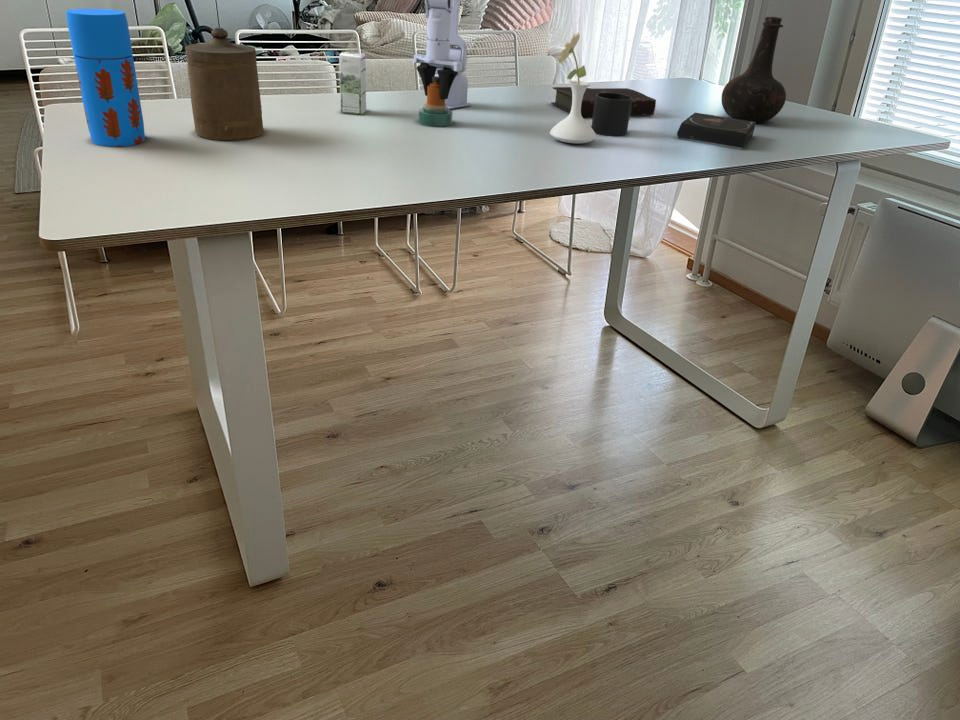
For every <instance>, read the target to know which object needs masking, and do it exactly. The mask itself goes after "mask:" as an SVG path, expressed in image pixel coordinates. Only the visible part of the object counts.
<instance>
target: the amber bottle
mask: <svg viewBox="0 0 960 720" xmlns="http://www.w3.org/2000/svg"><path fill="white" fill-rule="evenodd" d="M432 81H433V83H430V85H428V86H427V96H426V102H427V104H429V105H436V106H440V105H445V99H444V100H442V99H440V82H439V77H438V76H434V77H432Z"/></svg>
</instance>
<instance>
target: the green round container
mask: <svg viewBox="0 0 960 720" xmlns="http://www.w3.org/2000/svg"><path fill="white" fill-rule="evenodd" d="M453 113H454V112H453V111H452V109H449V108H448V107H446V103H445V105H440V106H436V105H429V104H427V101H426V102H425V105H423V106H422V107H421V108H419V110H418V123H419V124H420V125H422V126H427V127H434V128H443V127H445V128H446V127H449V126H452V125H453Z"/></svg>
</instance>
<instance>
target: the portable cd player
mask: <svg viewBox="0 0 960 720" xmlns="http://www.w3.org/2000/svg"><path fill="white" fill-rule="evenodd" d="M756 124H757V123H756V122H753V121H746V120H740V119H734V118H731V117H727V116H722V115H721V116H720V115H714V114H707V113H699V112H693V113H692V114H691V115H690V116H689V117H687V118H686V119H685V120H684V121H682V122H681V123H680V126H679V128H678V130H677V132H676V135H677V139H678V140H684V141H690V142H695V143H701V144H708V145H713V146H720V147H726V148H731V149H737V150H744V149H745V147H746V146H747V145H748V143H749V142H750V141H751V139H752V138H753V135H754V133H755V127H756Z"/></svg>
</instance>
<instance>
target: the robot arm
mask: <svg viewBox="0 0 960 720" xmlns="http://www.w3.org/2000/svg"><path fill="white" fill-rule="evenodd" d="M424 5H425V18H426V43H425V44H426V49H425V54H422V53H421V54H420V53H416V54H413V64H419V65H417V66H416V71H417V73H418V75H419V77H420V79H421V83H422V87H423V90H424V95H425V97H427V86H428V85H430V83H433V81H432V77H434V76H438V77H439V82H440V99H442V100H444V99H445V103H446V107H448V108H449V110H452V109H458V108H464V107H468V106H470V104H469V103H468V90H469V89H468V87H469V80H468V78H467V75H466V74H465V71H466V70H467V65H468V64H467V62H468V44H467V42H466V41H465V39H464V38H462V37H461V36H460V35H459V22H460V9H461V8H460V7H461V6H460V5H461V0H424Z"/></svg>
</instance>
